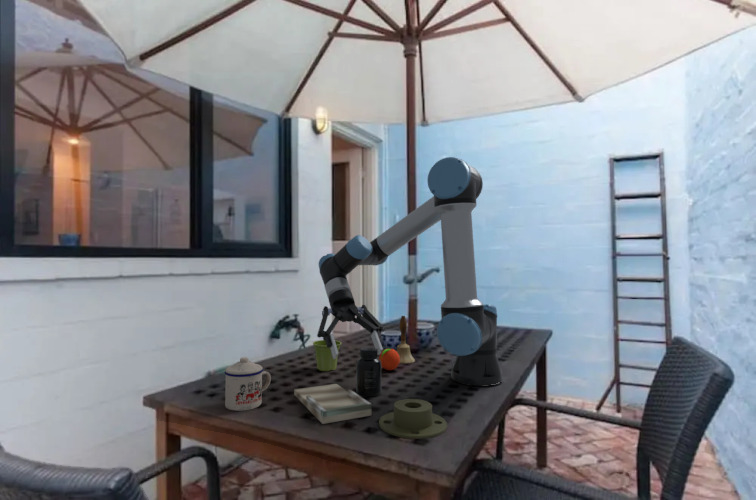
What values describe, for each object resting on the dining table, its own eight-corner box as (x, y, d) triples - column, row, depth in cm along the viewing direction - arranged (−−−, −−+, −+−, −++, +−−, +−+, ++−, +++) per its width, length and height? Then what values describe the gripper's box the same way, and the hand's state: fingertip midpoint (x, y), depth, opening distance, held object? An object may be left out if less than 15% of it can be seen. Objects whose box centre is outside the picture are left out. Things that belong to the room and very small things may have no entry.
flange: (379, 417, 88) (452, 418, 89) (378, 394, 103) (441, 394, 104) (379, 440, 88) (452, 441, 88) (378, 413, 103) (441, 414, 103)
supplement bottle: (385, 391, 119) (385, 347, 119) (374, 398, 113) (375, 352, 113) (363, 388, 122) (363, 345, 122) (351, 395, 116) (352, 350, 116)
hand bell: (388, 362, 152) (388, 316, 152) (396, 357, 159) (396, 314, 160) (410, 364, 149) (411, 318, 149) (418, 359, 156) (418, 315, 156)
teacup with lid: (235, 414, 101) (236, 364, 101) (217, 404, 107) (218, 357, 107) (279, 402, 109) (280, 356, 109) (260, 394, 115) (261, 350, 116)
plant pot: (343, 366, 146) (343, 340, 146) (338, 373, 137) (338, 346, 137) (316, 365, 147) (316, 339, 147) (309, 372, 137) (309, 345, 138)
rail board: (294, 394, 115) (294, 384, 115) (336, 389, 121) (336, 379, 121) (322, 423, 95) (322, 411, 96) (371, 415, 101) (371, 403, 101)
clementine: (389, 374, 136) (390, 352, 136) (372, 370, 140) (372, 348, 140) (404, 369, 142) (404, 347, 142) (386, 366, 146) (387, 345, 147)
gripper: (371, 301, 143) (393, 357, 129) (298, 304, 132) (312, 365, 118) (379, 287, 138) (402, 343, 125) (303, 288, 127) (319, 350, 113)
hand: (358, 354), depth 121 cm, fingers open, 13 cm apart
